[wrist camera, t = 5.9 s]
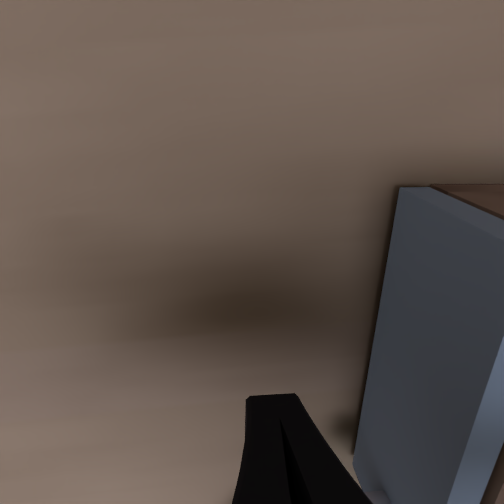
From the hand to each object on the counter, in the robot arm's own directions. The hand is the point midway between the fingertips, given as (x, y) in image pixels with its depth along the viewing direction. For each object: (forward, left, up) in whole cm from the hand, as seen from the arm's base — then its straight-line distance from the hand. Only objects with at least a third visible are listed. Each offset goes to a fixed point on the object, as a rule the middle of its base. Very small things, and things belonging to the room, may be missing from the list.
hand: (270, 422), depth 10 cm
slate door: (-5, +1, -4) cm, 6 cm away
